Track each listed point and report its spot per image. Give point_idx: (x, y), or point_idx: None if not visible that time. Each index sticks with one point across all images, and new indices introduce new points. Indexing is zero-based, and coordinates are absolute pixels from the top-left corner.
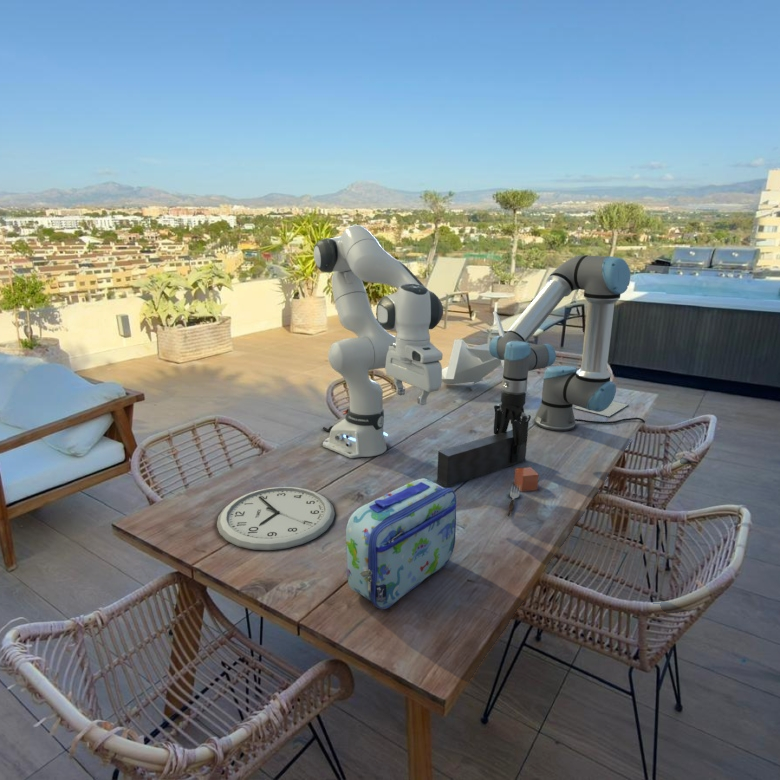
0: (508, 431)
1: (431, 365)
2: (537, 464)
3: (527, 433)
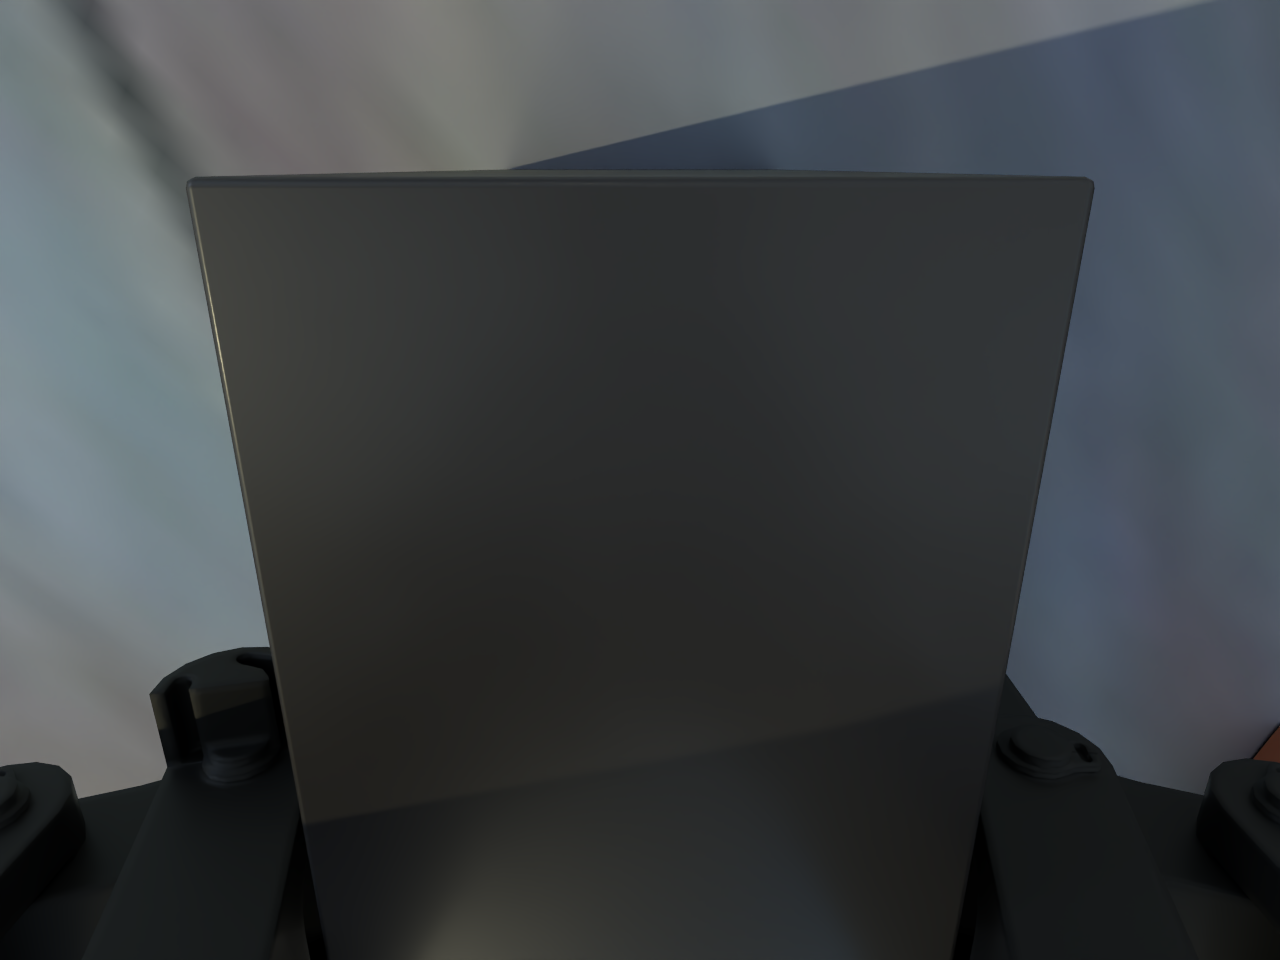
0: (365, 894)
1: None
2: (1043, 78)
3: (1065, 211)
